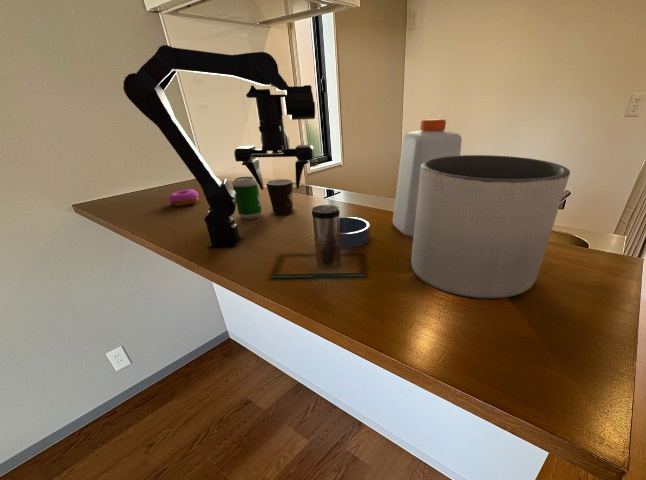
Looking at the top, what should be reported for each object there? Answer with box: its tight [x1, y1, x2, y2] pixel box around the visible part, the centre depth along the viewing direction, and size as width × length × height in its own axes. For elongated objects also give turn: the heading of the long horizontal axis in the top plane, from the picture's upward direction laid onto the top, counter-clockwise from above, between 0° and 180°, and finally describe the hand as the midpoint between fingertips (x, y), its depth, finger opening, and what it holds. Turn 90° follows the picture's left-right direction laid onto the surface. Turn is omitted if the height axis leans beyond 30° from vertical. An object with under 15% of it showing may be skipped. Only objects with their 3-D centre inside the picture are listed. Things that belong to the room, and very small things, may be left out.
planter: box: [410, 154, 571, 301], centre depth 64 cm, size 25×25×22 cm
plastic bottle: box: [392, 118, 463, 238], centre depth 86 cm, size 15×15×28 cm
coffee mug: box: [265, 178, 294, 216], centre depth 108 cm, size 12×9×10 cm
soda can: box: [231, 176, 263, 220], centre depth 103 cm, size 8×8×12 cm
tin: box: [311, 204, 342, 271], centre depth 70 cm, size 6×6×13 cm
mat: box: [271, 272, 365, 280], centre depth 74 cm, size 20×12×1 cm, turn 90°
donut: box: [168, 188, 200, 207], centre depth 119 cm, size 10×10×5 cm
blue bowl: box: [339, 216, 370, 250], centre depth 85 cm, size 13×13×4 cm
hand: (280, 189), depth 83 cm, fingers open, 9 cm apart
